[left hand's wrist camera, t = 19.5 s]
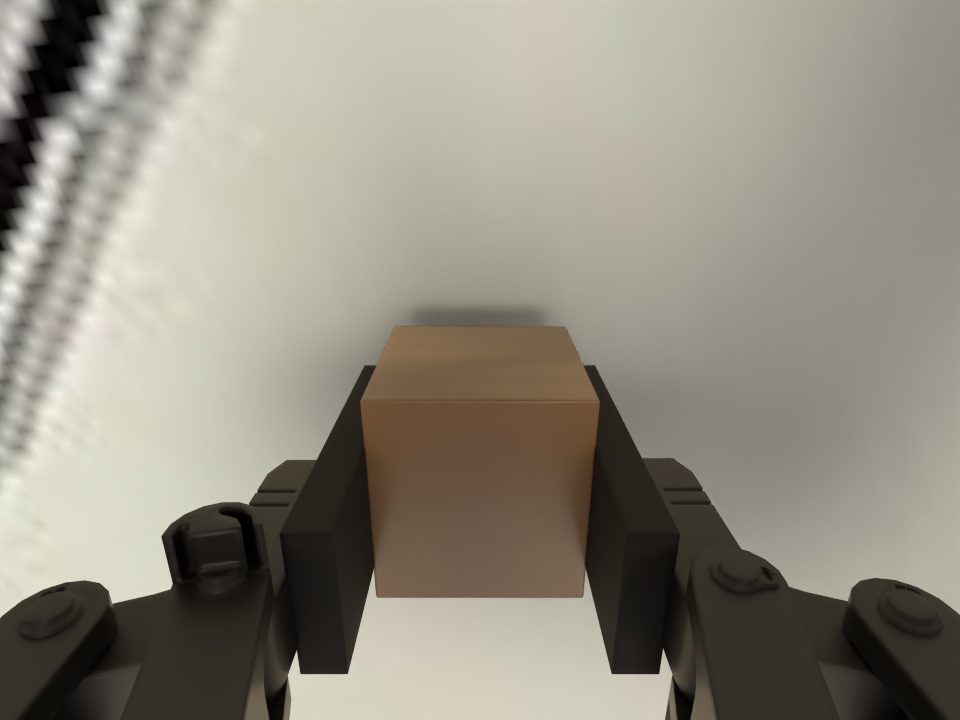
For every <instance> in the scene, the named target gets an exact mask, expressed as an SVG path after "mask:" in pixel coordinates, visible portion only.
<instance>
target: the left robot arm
mask: <svg viewBox="0 0 960 720" xmlns="http://www.w3.org/2000/svg"><path fill="white" fill-rule="evenodd" d="M376 366H377V365H365V366H364V368H363V370H362V372H361V374H360V376H359V378H358V380H357V382H356V384H355V386H354V388H353V390H352V392H351V394H350V396H349V397H348V399H347V401H346V403H345V405H344V407H343V409H342V411H341V413H340V415H339V417H338V419H337V421H336V423H335V425H334V427H333V429H332V431H331V433H330V435H329V437H328V439H327V441H326V443H325V445H324V447H323V449H322V451H321V453H320V455H319V457H318V459H317V460H286V461H285V462H283V463H282V464H281V465H279V466H278V467H277V468H275V469H274V470H273V471H271V472H270V473H268V474H267V476H266V478H265V479H264V481H263V482H262V484H261V485H260V487H259V489H258V492H257V493H255V495H254V497H253V498H252V500H251V501H250V503H249V505H247V504H244V503H240V502H222V503H217V504H213V505H208V506H204V507H201V508H199V509H196V510H194V511H192V512H189V513H187V514H185V515H183V516H182V517H180V518H179V519H178V520H176V521H175V522H173V523H172V524H170V526H169V527H168V528H167V530H166V531H165V532H164V534H163V535H162V536H161V537H162V541H163V545H164V549H165V553H166V557H167V561H168V565H169V570H170V574H171V578H172V582H173V585H172V587H171V589H170V590H167V591H164V592H160V593H157V594H154V595H149V596H145V597H141V598H136V599H132V600H127V601H123V602H119V603H114V604H112V602H111V598H110V595H109V591H108V590H107V589H106V588H105V587H103V586H102V585H101V584H100V583H96V582H90V581H76V582H67V583H63V584H60V585H56V586H53V587H50V588H47V589H44V590H42V591H40V592H38V593H36V594H34V595H32V596H30V597H28V598H26V599H25V600H23V601H21V602H20V603H18V604H17V605H16V606H15V607H13V608H12V609H11V610H9V611H8V612H7V613H6V614H4V615H3V616H2V617H1V618H0V720H289V716H290V706H291V694H290V687H289V681H288V673H289V670H290V667H291V664H292V662H293V659H294V656H295V653H296V650H297V654H298V661H299V667H300V674H348V671H349V667H350V663H351V659H352V655H353V651H354V647H355V643H356V639H357V634H358V630H359V626H360V622H361V618H362V614H363V610H364V606H365V602H366V598H367V594H368V590H369V586H370V582H371V578H372V574H373V570H374V557H373V545H372V532H371V520H370V508H369V496H368V484H367V472H366V460H365V447H364V440H363V427H362V415H361V403H360V401H361V399H362V397H363V395H364V392H365V390H366V388H367V386H368V384H369V381H370V379H371V377H372V375H373V373H374V370H375V368H376ZM583 366H584V368H585V371H586V373H587V375H588V377H589V379H590V381H591V384H592V386H593V388H594V390H595V392H596V394H597V397H598V399H599V401H600V404H599V416H598V428H597V440H596V447H595V454H594V467H593V479H592V491H591V503H590V515H589V527H588V539H587V552H586V564H585V567H586V571H587V575H588V579H589V583H590V587H591V591H592V596H593V600H594V604H595V608H596V612H597V616H598V620H599V624H600V628H601V632H602V636H603V640H604V644H605V648H606V652H607V656H608V661H609V665H610V669H611V673H612V674H659V671H660V664H661V658H662V651H663V649H664V652H665V654H666V657H667V660H668V663H669V666H670V668H671V671H672V674H673V675H672V681H671V687H670V693H669V699H668V705H667V711H666V717H665V720H960V615H959V614H958V613H957V612H956V611H954V610H953V609H952V608H951V607H949V606H948V605H947V604H945V603H944V602H943V601H941V600H940V599H939V598H937V597H935V596H933V595H931V594H929V593H927V592H925V591H923V590H921V589H919V588H918V587H915V586H912V585H909V584H905V583H902V582H899V581H896V580H889V579H880V578H873V579H867V580H862V581H860V582H858V583H857V584H856V585H855V586H854V587H853V588H852V590H851V593H850V596H849V600H848V601H843V600H839V599H834V598H830V597H825V596H821V595H817V594H812V593H808V592H804V591H801V590H797V589H794V588H791V587H789V586H788V584H787V582H786V581H785V579H784V578H783V576H782V575H781V573H780V572H779V570H778V569H776V568H775V567H774V566H773V565H771V564H770V563H769V562H768V561H766V560H765V559H763V558H761V557H759V556H757V555H755V554H753V553H751V552H749V551H745V550H741V548H740V547H739V545H738V543H737V542H736V540H735V539H734V537H733V536H732V534H731V532H730V531H729V529H728V528H727V526H726V525H725V523H724V521H723V520H722V518H721V517H720V515H719V514H718V512H717V510H716V509H715V507H714V506H713V505H711V501H710V499H709V498H708V496H707V495H706V493H705V492H704V491H702V487H701V485H700V484H699V482H698V481H697V479H696V478H695V476H694V474H693V473H692V472H691V471H690V470H688V469H687V468H686V467H684V466H683V465H682V464H680V463H679V462H677V461H676V460H675V459H673V458H642V457H641V455H640V454H639V452H638V450H637V448H636V446H635V444H634V442H633V440H632V438H631V436H630V434H629V432H628V430H627V428H626V426H625V424H624V422H623V420H622V418H621V416H620V414H619V412H618V410H617V408H616V406H615V404H614V402H613V400H612V398H611V396H610V394H609V392H608V390H607V388H606V387H605V385H604V383H603V381H602V379H601V377H600V375H599V373H598V371H597V369H596V367H595V365H583Z"/></svg>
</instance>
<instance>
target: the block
mask: <svg viewBox="0 0 960 720" xmlns="http://www.w3.org/2000/svg"><path fill="white" fill-rule="evenodd" d="M360 403H361V415H362V427H363V440H364V447H365V460H366V472H367V484H368V496H369V508H370V520H371V532H372V545H373V557H374V575H375V588H376V596H377V597H378V598H582V597H583V594H584V582H585V570H586V567H585V564H586V552H587V539H588V527H589V515H590V503H591V491H592V479H593V467H594V454H595V447H596V440H597V428H598V416H599V404H600V401H599V399H598V397H597V394H596V392H595V390H594V388H593V386H592V384H591V381H590V379H589V377H588V375H587V373H586V371H585V368H584V366H583V364H582V362H581V360H580V357H579V355H578V353H577V351H576V349H575V347H574V344H573V342H572V340H571V338H570V336H569V333H568V331H567V329H566V327H502V326H395V327H394V329H393V331H392V333H391V335H390V337H389V340H388V342H387V344H386V346H385V348H384V351H383V353H382V355H381V357H380V359H379V362H378V364H377V366H376V368H375V370H374V373H373V375H372V377H371V379H370V381H369V384H368V386H367V388H366V390H365V392H364V395H363V397H362V399H361V401H360Z"/></svg>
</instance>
